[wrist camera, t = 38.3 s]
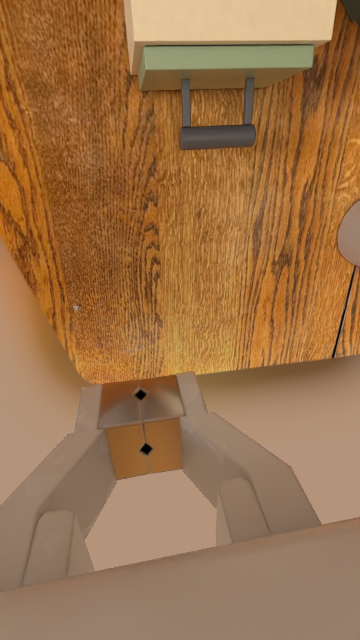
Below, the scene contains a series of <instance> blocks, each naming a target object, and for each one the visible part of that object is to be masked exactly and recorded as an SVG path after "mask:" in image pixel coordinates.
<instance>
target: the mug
mask: <svg viewBox="0 0 360 640" xmlns="http://www.w3.org/2000/svg"><path fill="white" fill-rule="evenodd" d="M337 244H338V248H339V251H340V253H341V255H342V256H343V257H344V258H345V259H346V260H347V261H349V262H350V263H352V264H354V265H356V266H359V267H360V200H359V201H357V202H356V203H355V204H354V205H353V206H352V207H351V208H350V209H349V210H348V212H347V213H346V215H345V216H344V218H343V220H342V222H341V224H340V227H339V230H338V237H337Z"/></svg>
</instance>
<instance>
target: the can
mask: <svg viewBox="0 0 360 640" xmlns="http://www.w3.org/2000/svg"><path fill="white" fill-rule="evenodd" d="M341 2H342V4H343V6H344V8H345V10H346V12H347V14H348V16H349V18H350V20H351V22H353V21H355V20H357V22H358V24H359V26H360V0H341Z"/></svg>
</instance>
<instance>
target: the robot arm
mask: <svg viewBox="0 0 360 640" xmlns="http://www.w3.org/2000/svg"><path fill="white" fill-rule="evenodd" d="M179 469H183V471H184V473H185V474H186V475H187V476H188V477H189V478H190V480H191V481H192V482H193V483H194V484H195V485H196V486H197V488H198V489H199V490H200V491H201V492H202V493H203V494H204V496H205V497H206V498H207V499H208V500H209V501H210V502H211V504H212V505H213V506H214V507H215V508H216V509H217V523H216V547H212V548H207V549H202V550H197V551H192V552H187V553H182V554H177V555H172V556H168V557H163V558H158V559H153V560H148V561H143V562H139V563H134V564H129V565H125V566H119V567H114V568H109V569H105V570H100V571H95V570H94V568H93V564H92V561H91V559H90V556H89V553H88V550H87V547H86V544H85V539H86V537H87V535H88V534H89V532H90V530H91V528H92V526H93V524H94V522H95V521H96V519H97V517H98V515H99V514H100V512H101V510H102V508H103V506H104V504H105V503H106V501H107V499H108V497H109V495H110V494H111V492H112V489H113V488H114V486H115V484H116V480H121V479H126V478H131V477H136V476H141V475H146V474H151V473H159V472H166V471H173V470H179ZM0 640H360V517H358V518H353V519H348V520H343V521H339V522H333V523H329V524H324V525H322V524H321V522H320V520H319V518H318V517H317V515H316V513H315V511H314V509H313V507H312V505H311V504H310V502H309V500H308V498H307V496H306V494H305V492H304V490H303V488H302V487H301V485H300V483H299V481H298V479H297V477H296V475H295V474H294V472H293V470H292V468H291V466H289V465H288V464H286V463H285V462H283V461H282V460H281V459H279V458H278V457H276V456H275V455H274V454H272V453H271V452H269V451H268V450H266V449H265V448H264V447H262V446H261V445H259V444H258V443H257V442H255V441H254V440H252V439H251V438H249V437H248V436H247V435H245V434H244V433H242V432H241V431H240V430H238V429H237V428H235V427H234V426H232V425H231V424H230V423H228V422H227V421H225V420H224V419H223V418H221V417H220V416H218V415H217V414H216V413H214V412H210V413H208V412H207V409H206V405H205V403H204V400H203V396H202V393H201V391H200V388H199V384H198V381H197V379H196V375H195V373H194V372H193V371H192V372H186V373H179V374H176V375H170V376H162V377H155V378H148V379H141V380H131V381H122V382H113V383H104V384H97V385H89V386H84V387H83V389H82V391H81V397H80V403H79V409H78V414H77V420H76V426H75V432H74V433H72V434H68V435H67V436H66V437H65V438H64V439H63V440H62V441H61V442H60V443H59V444H58V445H57V446H56V448H54V450H53V451H52V452H51V453H50V454H49V455H48V456H47V457H46V458H45V459H44V460H43V461H42V462H41V464H39V466H38V467H37V468H36V469H35V470H34V471H33V472H32V473H31V474H30V475H29V476H28V477H27V478H26V479H25V480H24V481H23V483H22V484H21V485H20V486H19V487H18V488H17V489H16V490H15V491H14V492H13V493H12V494H11V495H10V496H9V497H8V498H7V499H6V501H5V502H4V503H3V504H2V505H1V506H0Z"/></svg>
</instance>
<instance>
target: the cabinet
mask: <svg viewBox="0 0 360 640" xmlns="http://www.w3.org/2000/svg"><path fill="white" fill-rule="evenodd" d="M336 4H337V0H124V10H125V21H126V32H127V42H128V53H129V64H130V74H131V75H138V73H139V68H140V63H141V58H142V53H143V48H144V46H146V45H225V44H271V45H315V48H317V47H319V46H321V45H323V44H325V43H327V42H329V41H331V39H332V32H333V25H334V18H335V11H336ZM315 48H314V49H315Z"/></svg>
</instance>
